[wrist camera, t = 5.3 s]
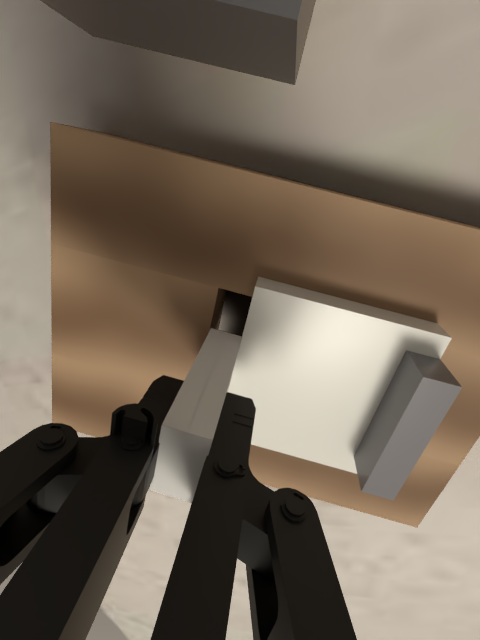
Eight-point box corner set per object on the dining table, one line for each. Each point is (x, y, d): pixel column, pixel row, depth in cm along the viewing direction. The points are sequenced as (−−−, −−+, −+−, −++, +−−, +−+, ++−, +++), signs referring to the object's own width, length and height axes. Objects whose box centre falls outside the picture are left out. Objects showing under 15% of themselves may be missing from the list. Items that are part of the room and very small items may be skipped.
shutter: (258, 276, 15) (249, 303, 12) (438, 323, 15) (476, 363, 12) (222, 416, 18) (207, 465, 15) (368, 457, 18) (384, 515, 15)
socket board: (100, 132, 17) (50, 122, 14) (532, 240, 17) (600, 260, 13) (88, 386, 24) (52, 424, 20) (397, 471, 23) (417, 527, 20)
